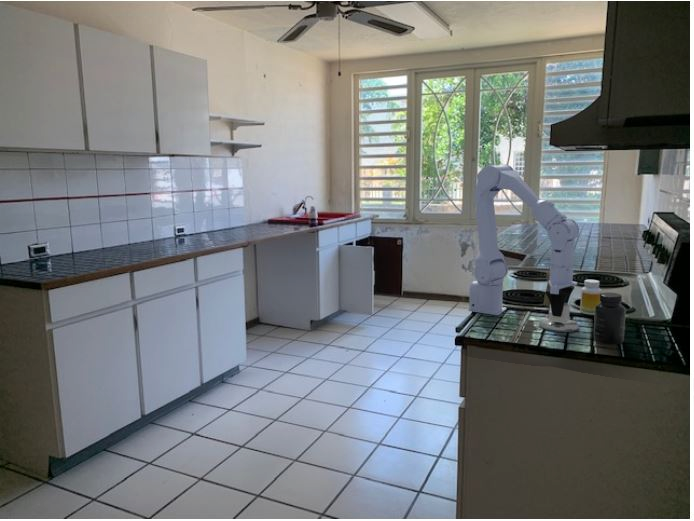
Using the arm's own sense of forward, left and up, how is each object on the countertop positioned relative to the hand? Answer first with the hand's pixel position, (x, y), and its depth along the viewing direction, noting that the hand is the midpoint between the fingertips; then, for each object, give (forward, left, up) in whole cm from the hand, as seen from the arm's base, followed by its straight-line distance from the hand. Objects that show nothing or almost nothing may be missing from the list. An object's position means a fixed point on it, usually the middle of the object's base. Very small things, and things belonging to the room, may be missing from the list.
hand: (558, 313), depth 137 cm
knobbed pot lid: (0, 0, -4) cm, 4 cm away
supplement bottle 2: (+13, -5, -4) cm, 14 cm away
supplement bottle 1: (+5, +18, -4) cm, 19 cm away
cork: (-6, +21, -4) cm, 22 cm away
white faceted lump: (0, 0, -2) cm, 2 cm away
